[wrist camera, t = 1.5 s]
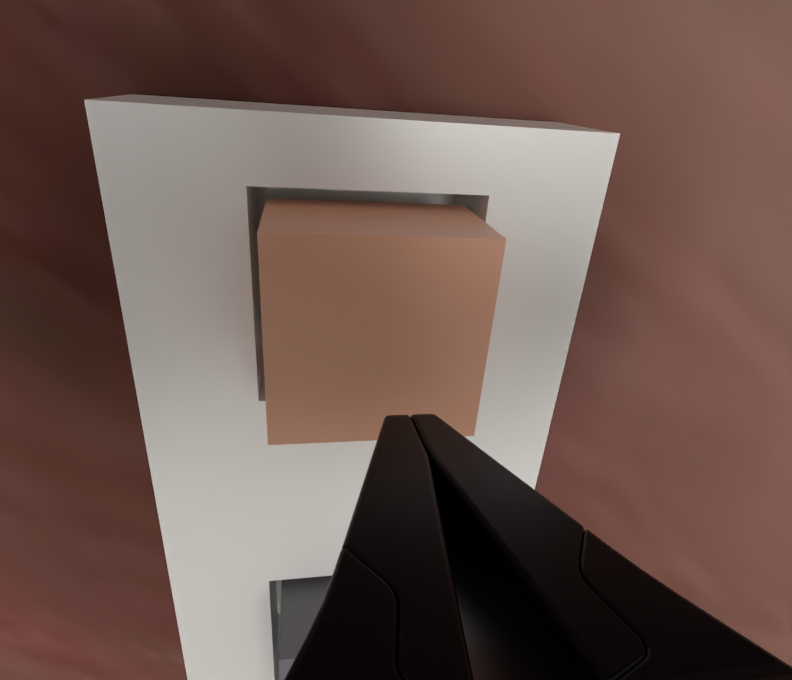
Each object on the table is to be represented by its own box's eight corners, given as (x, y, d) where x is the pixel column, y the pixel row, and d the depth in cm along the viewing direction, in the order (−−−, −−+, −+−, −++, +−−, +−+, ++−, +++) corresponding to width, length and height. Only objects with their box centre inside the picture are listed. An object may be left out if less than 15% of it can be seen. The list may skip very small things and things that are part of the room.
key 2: (409, 644, 22) (425, 730, 19) (285, 659, 21) (283, 751, 18) (420, 559, 19) (440, 641, 17) (282, 571, 18) (278, 660, 16)
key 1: (443, 371, 16) (474, 436, 13) (274, 375, 15) (267, 445, 12) (463, 205, 14) (506, 238, 11) (266, 198, 13) (257, 233, 10)
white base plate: (465, 607, 25) (488, 680, 22) (208, 634, 23) (194, 719, 20) (557, 122, 16) (619, 133, 13) (132, 94, 14) (83, 99, 11)
